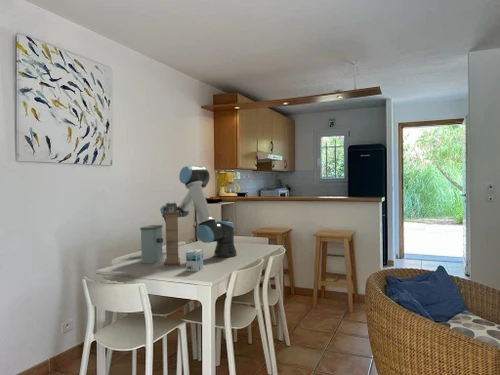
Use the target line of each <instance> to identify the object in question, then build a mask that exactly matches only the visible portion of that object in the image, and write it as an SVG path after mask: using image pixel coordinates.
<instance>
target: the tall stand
mask: <svg viewBox="0 0 500 375" xmlns="http://www.w3.org/2000/svg"><path fill="white" fill-rule="evenodd" d="M178 215H179V210H177V212H166V211H164V216H166V223H165V254H166V255H165V256H166V258H165V260H164V267H170V266H171V267H172V266H181V259H180V257H179V229H178V228H179V227H178V226H179V223H178V222H179V221H178V220H179V219H178V218H179V217H178Z"/></svg>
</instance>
